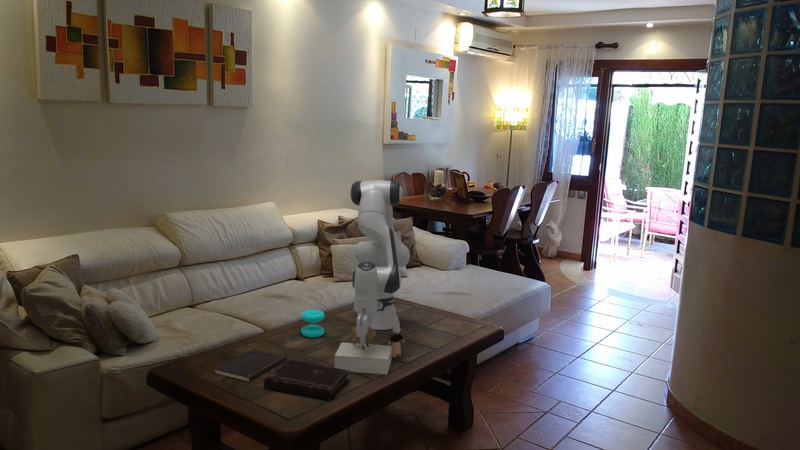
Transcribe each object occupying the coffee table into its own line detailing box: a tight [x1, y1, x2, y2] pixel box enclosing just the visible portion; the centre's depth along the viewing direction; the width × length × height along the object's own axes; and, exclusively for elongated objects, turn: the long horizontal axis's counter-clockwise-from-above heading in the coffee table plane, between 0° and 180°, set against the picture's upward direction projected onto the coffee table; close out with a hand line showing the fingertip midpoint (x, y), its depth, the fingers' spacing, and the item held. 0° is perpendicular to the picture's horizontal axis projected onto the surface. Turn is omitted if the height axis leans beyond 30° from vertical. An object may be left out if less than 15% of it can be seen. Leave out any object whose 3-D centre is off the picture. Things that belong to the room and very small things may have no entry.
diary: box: [263, 358, 351, 401], centre depth 221 cm, size 19×25×5 cm
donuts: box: [300, 309, 326, 339], centre depth 271 cm, size 10×10×10 cm
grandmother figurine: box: [387, 325, 406, 358], centre depth 250 cm, size 8×4×13 cm, turn 135°
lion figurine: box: [348, 326, 377, 350], centre depth 240 cm, size 15×5×9 cm, turn 46°
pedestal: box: [333, 341, 393, 375], centre depth 239 cm, size 14×20×6 cm
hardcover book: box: [213, 348, 288, 383], centre depth 235 cm, size 16×23×2 cm
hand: (364, 340), depth 238 cm, fingers closed on lion figurine, 7 cm apart
